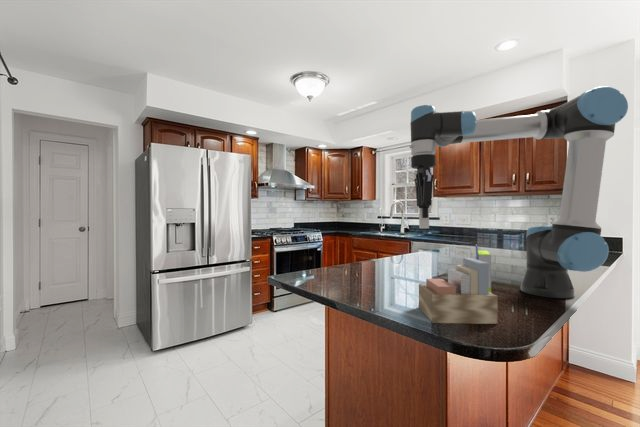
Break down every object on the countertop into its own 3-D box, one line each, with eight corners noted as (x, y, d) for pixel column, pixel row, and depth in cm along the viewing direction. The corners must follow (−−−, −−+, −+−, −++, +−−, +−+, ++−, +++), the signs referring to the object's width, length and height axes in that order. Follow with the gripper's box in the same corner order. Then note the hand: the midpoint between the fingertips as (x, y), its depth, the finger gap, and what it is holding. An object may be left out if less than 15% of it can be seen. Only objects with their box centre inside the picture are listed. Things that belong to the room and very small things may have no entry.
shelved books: (471, 310, 90) (471, 258, 90) (488, 322, 80) (488, 263, 80) (456, 310, 90) (456, 257, 90) (471, 321, 81) (470, 263, 81)
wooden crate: (473, 307, 92) (473, 284, 92) (497, 323, 79) (497, 295, 79) (418, 307, 93) (418, 283, 93) (432, 323, 80) (432, 295, 80)
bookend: (455, 310, 90) (455, 268, 90) (469, 321, 81) (469, 274, 81) (448, 310, 90) (448, 268, 90) (461, 321, 81) (461, 274, 81)
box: (491, 304, 96) (491, 247, 96) (476, 303, 97) (476, 247, 97) (488, 296, 106) (488, 244, 106) (474, 294, 107) (474, 244, 107)
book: (441, 309, 91) (441, 278, 91) (455, 321, 81) (455, 286, 81) (426, 309, 91) (426, 278, 91) (438, 321, 81) (438, 286, 81)
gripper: (406, 159, 109) (407, 227, 109) (416, 151, 96) (418, 229, 96) (428, 158, 108) (429, 227, 108) (442, 151, 95) (443, 229, 95)
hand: (424, 228), depth 102 cm, fingers closed
